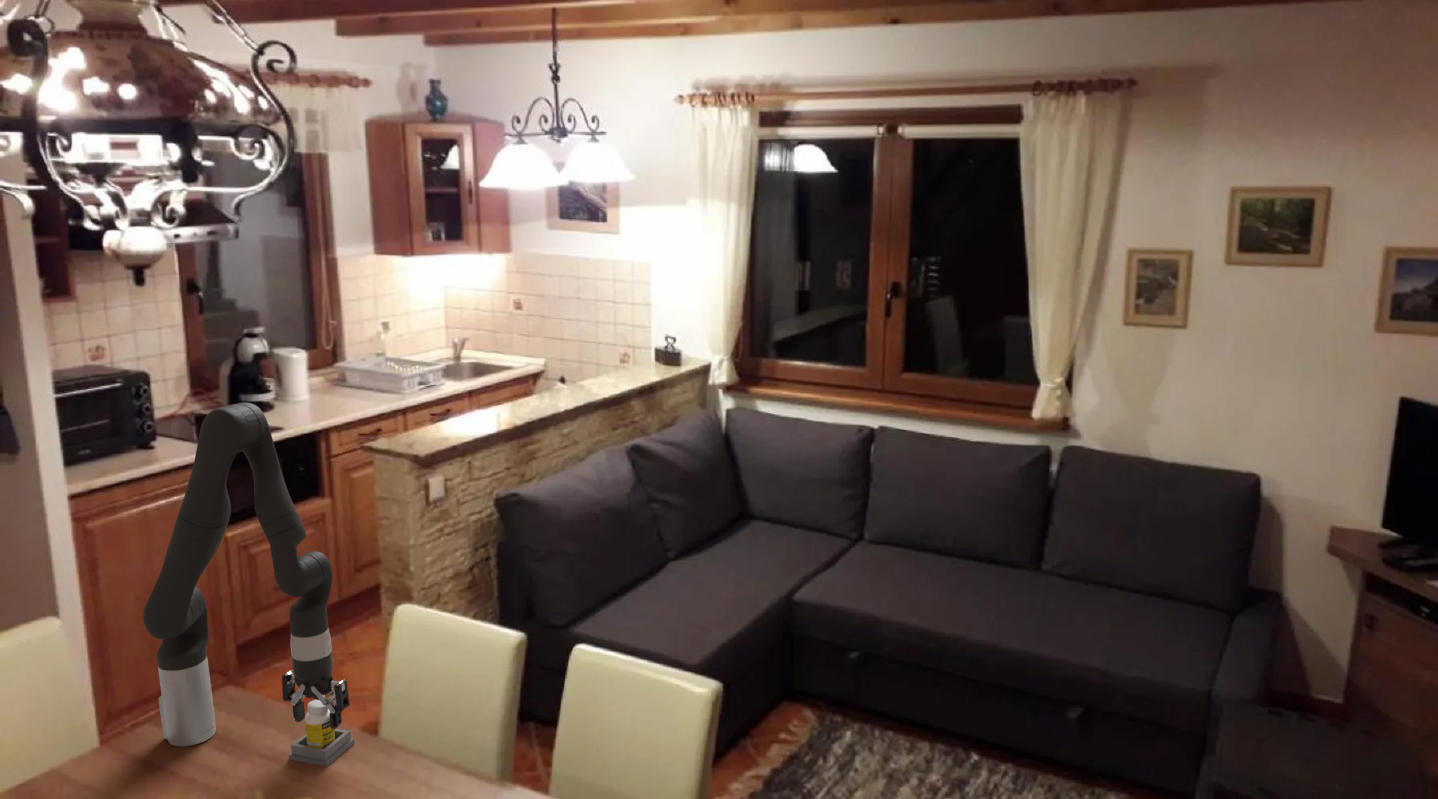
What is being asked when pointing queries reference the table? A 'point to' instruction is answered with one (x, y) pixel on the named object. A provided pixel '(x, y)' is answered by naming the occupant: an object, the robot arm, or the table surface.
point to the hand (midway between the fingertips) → (318, 723)
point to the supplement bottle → (318, 725)
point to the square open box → (321, 755)
